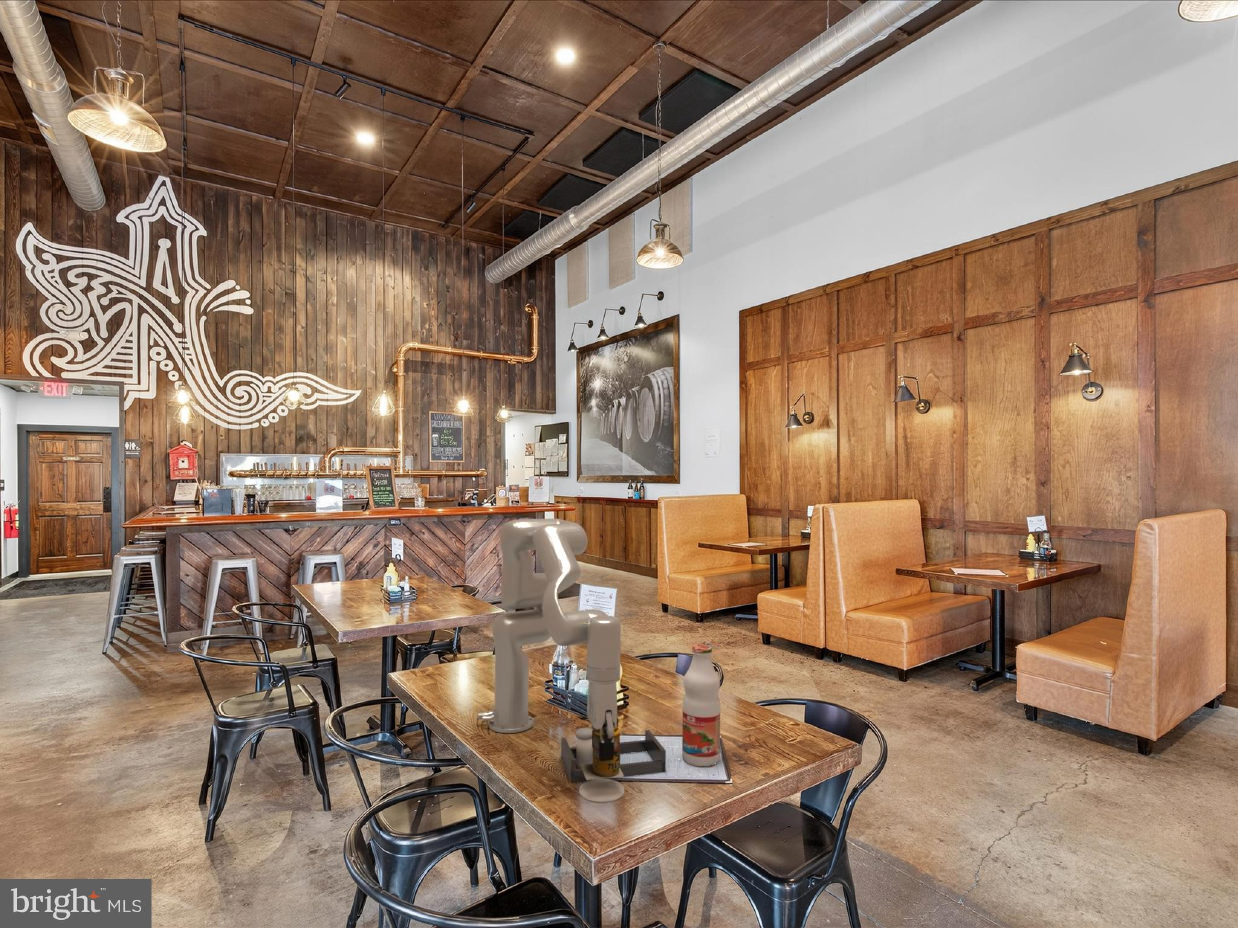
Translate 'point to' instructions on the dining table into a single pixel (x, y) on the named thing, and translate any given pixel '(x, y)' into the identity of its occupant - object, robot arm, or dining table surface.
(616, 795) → the coaster
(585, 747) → the salt shaker
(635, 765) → the caddy
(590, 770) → the condiment
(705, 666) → the fruit juice
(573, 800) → the dining table surface
